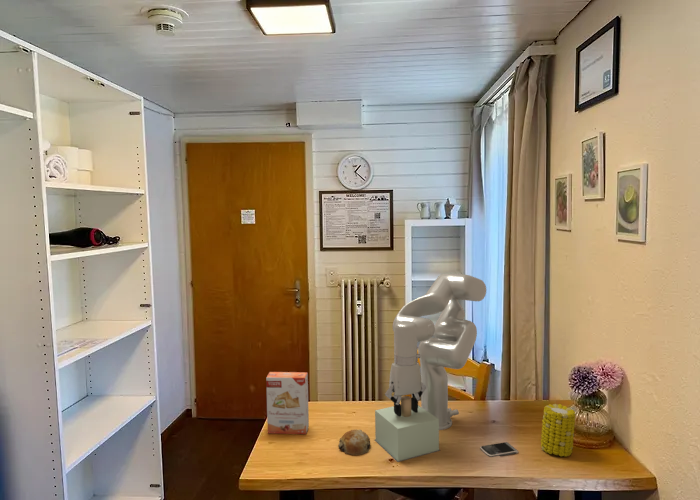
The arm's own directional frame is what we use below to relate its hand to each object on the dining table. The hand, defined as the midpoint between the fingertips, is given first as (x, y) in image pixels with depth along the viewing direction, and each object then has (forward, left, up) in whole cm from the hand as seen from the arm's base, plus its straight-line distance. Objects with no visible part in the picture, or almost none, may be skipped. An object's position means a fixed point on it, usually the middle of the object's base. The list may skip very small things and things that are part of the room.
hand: (406, 412), depth 156 cm
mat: (0, 0, -12) cm, 12 cm away
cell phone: (-25, +16, -12) cm, 32 cm away
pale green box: (0, 0, -11) cm, 11 cm away
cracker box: (+32, -28, -12) cm, 44 cm away
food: (-42, +24, -12) cm, 50 cm away
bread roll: (+16, -6, -12) cm, 21 cm away
